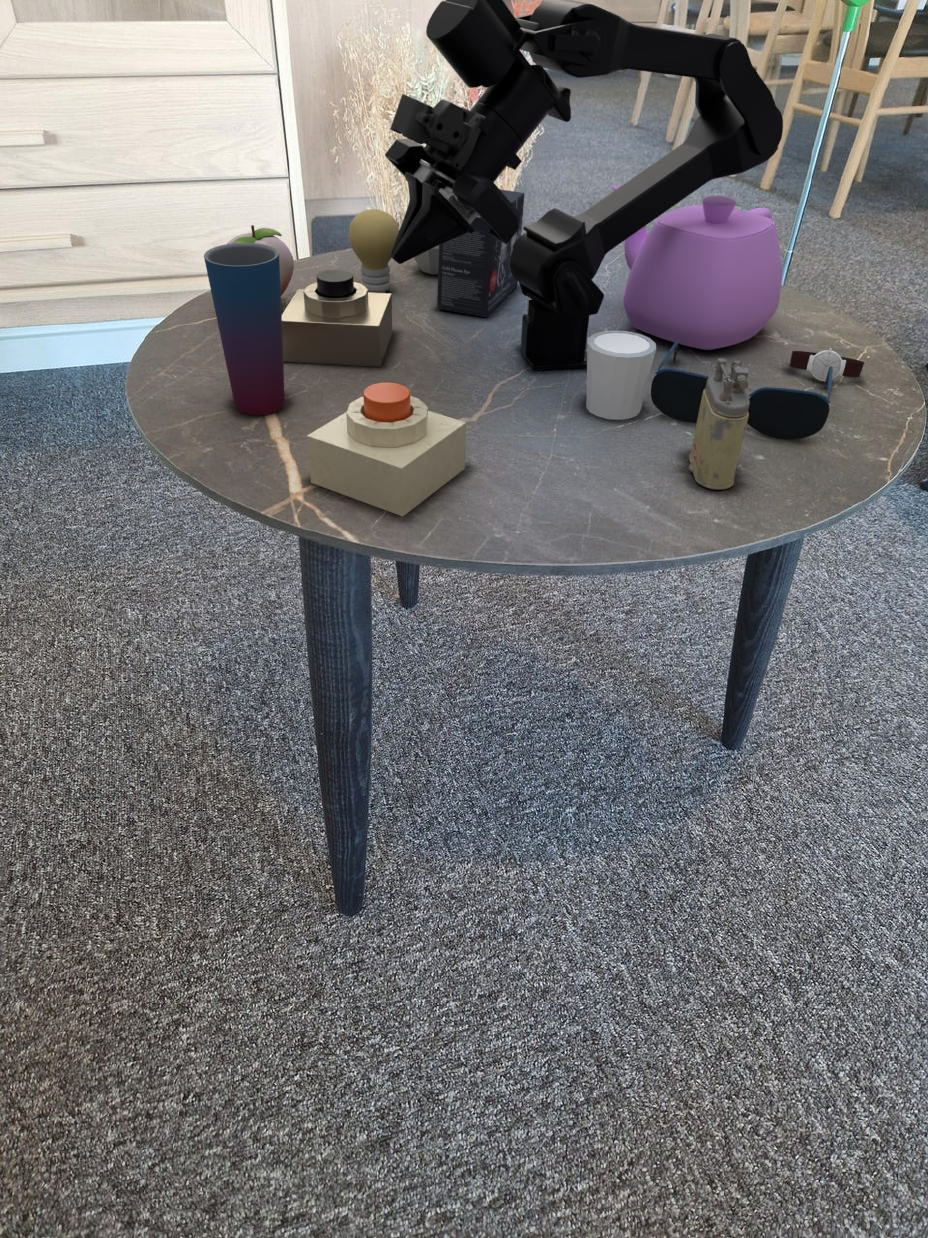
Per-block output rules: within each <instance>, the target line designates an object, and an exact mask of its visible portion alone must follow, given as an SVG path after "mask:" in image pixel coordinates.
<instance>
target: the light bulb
mask: <svg viewBox="0 0 928 1238" xmlns="http://www.w3.org/2000/svg"><path fill="white" fill-rule="evenodd" d="M399 230H400V227H399V225H398V223H397V221H396V219H395V218H394V217H393V215H391V214H390V213H388V212H386V211H385V210H382V209H377V208H370V209H369V208H368V209H365V210H363V211H361V212H359V213H357V214H356V215H355V216H354V218H353V219H352V220H351V222H350V225H349V229H348V242H349V244H350V248H351V249H352V251H353V252H354V254H355V256H356V257H357V259H358V260H359V261H360V262H361V266H360V272H361V273H360V278H361V283H360V284H362V285H364V286H365V287H366V288H367V289H368V292H369V293H386V292H388V290H389V289H390V288H391V281H390V280H391V274H390V272H391V267H390V265H389V262H390V261H391V259H392V258H391V256H390V254H391V251H392V248H393V246H394V243H395V240H396V238H397V235H398V233H399Z"/></svg>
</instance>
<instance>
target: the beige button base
mask: <svg viewBox="0 0 928 1238" xmlns="http://www.w3.org/2000/svg"><path fill="white" fill-rule="evenodd" d="M392 296H393V295H392V293H386V292H383V293H369V292H368V289H367V288H366V287H365V286H364V285H362V284H361V283H360V282H356V281H354V294H353V295H351V296H348V297H342V298H329V297H323V296H320V295H318V289H317V281H316V282H314V283H311V284H309V285H307V286H305V288H297V289H296V291H295V293H294V294H293V296H292V297H291V299H290V301H289V302H288V304H287V306H286V307H285V309H284V310H283V312H282V313H281V315H282V341H283V363H297V364H298V363H301V364H317V365H336V366H355V367H372V368H373V367H374V368H381V367H382V365H383V360H384V358H385V356H386V355H385V354H386V353H387V350H388V347H389V344H390V341H391V339H392V335H393V297H392Z"/></svg>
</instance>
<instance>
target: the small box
mask: <svg viewBox="0 0 928 1238" xmlns="http://www.w3.org/2000/svg"><path fill="white" fill-rule="evenodd" d="M499 189H500V188H499ZM500 190H501V192H502V193H503V194H504V195H505V196H506V197H507V199H508V200H509V201H510V202H511V203H512V204H513V206H514V207H515V208H516V209H517V210H518V211H519V213H520V228H519V230H518V231H517V232H516V233H515V235H514V236H513V237H512V239H511V240H510V241H509V242H508V244H507V245H506V244H504V243H503V242H501V241H499V240H498V239H496V238H494V237H493V236H492V235H491V234H490V227H489V226H488V224H487V223H486V222H485V221H484V220H483V219H482V218H481V217H480V215H479V214H478V215H477V217H476V218H475V219H474V220H473V222H472V223H471V224H470V225H471V226H472V227H473V229H474V230H475V231H474V232H473V233H472V234H470V233H466V234H463V235H461V236H459V237H456V238H454V239H452V240H449V241H447V242H445V243H443V244H440V245H439V265H438V274H437V288H436V289H437V291H436V292H437V293H436V309H438V310H443V311H448V312H452V313H453V312H455V313H459V314H465V315H471V316H477V317H483V318H486V317H488V316H489V315H490V314H491V313H492V311H494V310H495V309H496V308H497V307H498V306H499V305H500V304H501V302H502V301H504V300H505V299H506V298H507V297H508V296H509V295H510V294H511V292H513V291H514V290H515V289H516V288H517V287H518V284H519V282H518V281H517V280H515V278H514V276H513V275H512V273H511V269H510V257H511V254H512V251H513V245H514V243H515V242H516V240H517V239H518V238H519V237H520V236H522V231H523V217H524V204H525V192H522V191H521V192H520V191H515V190H514V191H513V190H507V189H500Z"/></svg>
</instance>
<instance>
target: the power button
mask: <svg viewBox="0 0 928 1238" xmlns="http://www.w3.org/2000/svg"><path fill="white" fill-rule="evenodd" d="M362 396H363V398H364V415H365V417H366V418H367V419H371V420H374V421H377V422H396V421H401V420H405V419H407V418H408V417H410V396H411V391H410V389H409V388H408V387H407V386H405V385H403V384H400V383H395V382H377V383H373V384H371V385H369V386H367V387H366V388H365V389H364V390H363V392H362Z"/></svg>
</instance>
